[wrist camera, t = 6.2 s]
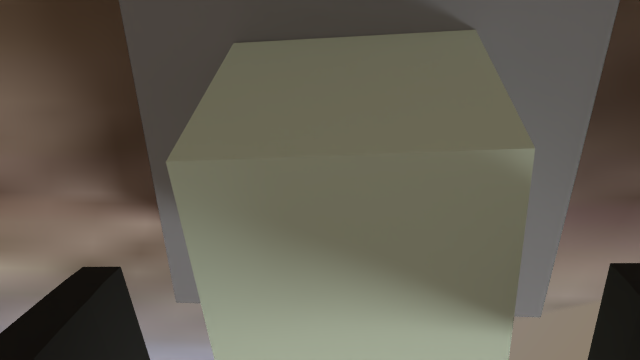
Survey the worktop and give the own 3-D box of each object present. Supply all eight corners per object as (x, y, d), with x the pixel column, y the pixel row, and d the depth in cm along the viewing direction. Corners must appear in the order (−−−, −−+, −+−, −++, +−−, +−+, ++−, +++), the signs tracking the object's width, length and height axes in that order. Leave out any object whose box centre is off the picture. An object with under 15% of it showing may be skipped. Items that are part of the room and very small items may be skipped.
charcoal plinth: (576, -111, 14) (641, -86, 11) (510, 228, 19) (540, 317, 16) (163, -109, 15) (102, -85, 11) (208, 219, 20) (175, 302, 17)
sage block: (476, 29, 12) (534, 147, 8) (464, 229, 15) (503, 398, 10) (233, 42, 13) (165, 161, 8) (263, 233, 15) (223, 397, 11)
